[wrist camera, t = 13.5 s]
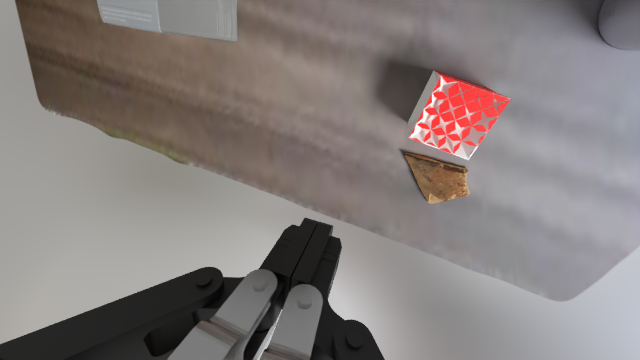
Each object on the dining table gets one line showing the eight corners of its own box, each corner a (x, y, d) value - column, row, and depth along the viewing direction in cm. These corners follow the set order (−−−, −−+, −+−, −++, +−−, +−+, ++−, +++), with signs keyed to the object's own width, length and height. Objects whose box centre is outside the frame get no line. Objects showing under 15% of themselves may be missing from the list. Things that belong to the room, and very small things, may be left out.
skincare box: (197, 36, 41) (100, 29, 28) (192, -17, 38) (77, -53, 24) (241, 43, 40) (159, 41, 26) (239, -11, 36) (144, -45, 23)
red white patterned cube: (433, 70, 34) (440, 75, 27) (489, 88, 33) (511, 98, 26) (407, 122, 38) (408, 138, 31) (456, 140, 37) (467, 160, 30)
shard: (403, 149, 41) (403, 153, 39) (452, 130, 37) (454, 134, 35) (427, 200, 44) (428, 206, 42) (474, 187, 40) (477, 193, 38)
